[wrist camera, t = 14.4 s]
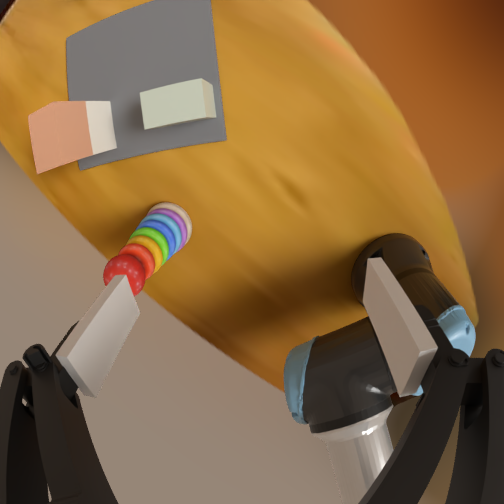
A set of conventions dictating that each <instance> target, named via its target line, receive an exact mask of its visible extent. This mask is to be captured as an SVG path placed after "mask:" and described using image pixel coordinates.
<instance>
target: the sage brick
mask: <svg viewBox="0 0 504 504" xmlns="http://www.w3.org/2000/svg"><path fill="white" fill-rule="evenodd" d="M140 99H141V107H142V115H143V122H144V129H145V130H146V129H153V128H161V127H167V126H172V125H177V124H182V123H187V122H193V121H199V120H205V119H211V118H216V110H215V102H214V93H213V85H212V84H210V83H209V82H207V81H205V80H204V79H202V78H200V79H195V80H190V81H185V82H180V83H176V84H171V85H167V86H163V87H159V88H155V89H151V90H148V91H144V92H141V93H140Z"/></svg>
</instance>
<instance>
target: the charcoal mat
mask: <svg viewBox="0 0 504 504" xmlns="http://www.w3.org/2000/svg"><path fill="white" fill-rule="evenodd" d="M66 52H67V79H68V93H69V101H110V104H111V112H112V120H113V127H114V133H115V140H116V146H117V148H116V149H112V150H108V151H105V152H102V153H98V154H95V155H92V156H88V157H85V158H82V159H79V160H78V163H79V168H80V171H81V170H84V169H87V168H91V167H94V166H98V165H102V164H105V163H109V162H113V161H117V160H121V159H125V158H130V157H134V156H138V155H143V154H147V153H152V152H157V151H162V150H167V149H173V148H178V147H184V146H190V145H196V144H203V143H209V142H217V141H224V140H227V138H226V130H225V122H224V114H223V105H222V97H221V89H220V80H219V71H218V63H217V54H216V45H215V36H214V27H213V18H212V9H211V0H154V1H151V2H148V3H145V4H142V5H139V6H136V7H133V8H131V9H128V10H125V11H123V12H120V13H118V14H115V15H113V16H110V17H108V18H106V19H104V20H101V21H99V22H97V23H95V24H93V25H91V26H89V27H87V28H85V29H83V30H81V31H79V32H77V33H75V34H73V35H71V36H69V37H68V38H67V40H66ZM200 78H202V79H204V80H205V81H207V82H209V83H210V84H212V85H213V93H214V102H215V110H216V118H211V119H205V120H199V121H193V122H187V123H182V124H177V125H172V126H167V127H161V128H153V129H146V130H145V129H144V122H143V115H142V107H141V99H140V93H141V92H144V91H148V90H151V89H155V88H159V87H163V86H167V85H171V84H176V83H180V82H185V81H190V80H195V79H200Z"/></svg>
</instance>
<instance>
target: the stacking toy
mask: <svg viewBox="0 0 504 504" xmlns="http://www.w3.org/2000/svg"><path fill="white" fill-rule="evenodd" d="M191 233H192V223H191V220H190V217H189V216H188V214H187V213H186V211H185V210H184V209H183V208H181V207H180V206H178V205H176V204H174V203H169V202H164V203H159V204H157V205H155V206H153V207H152V208H151V209H150V210H149V212H148V213H147V215H146V217H145V218H144V219H143V220H142V221H141V222H140V224H139V226H138V227H137V228H136V230H135V231H134V232H133V233H132V235H131V236H130V239H129V241H128V242H127V243H126V245H125V246H124V247H123V248H122V249H121V250H120V252H119V254H118V256H115V257H113V258H112V259H111V260H110V261H109V262H108V263H107V265H106V267H105V270H104V274H103V278H104V283H105V285H106V286H107V285H108V284H109V282H110V281H111V280H112V279H113V277H114V276H115V275H126V276H127V279H128V282H129V284H130V287H131V290H132V293H133V295H134V296H136V295H137V294H138V293H139V292H140V291H141V290H142V288H143V286H144V284H145V280H146V279H148V278H149V277H151V275H152V274H153V273H155V272H156V271H158V270H159V268H160V267H161V266H162V265H163V264H164V263H165V262H166V261H167V260H168V259H169V258H170V257H171V256H172V255H173V254H175V253H176V252H178V251H179V250H180V249H182V247H183V246H184V245H185V244H186V243H187V242H188V240H189V239H190V237H191Z"/></svg>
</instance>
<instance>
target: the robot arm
mask: <svg viewBox="0 0 504 504" xmlns="http://www.w3.org/2000/svg"><path fill="white" fill-rule="evenodd" d="M351 281H352V287H353V290H354V292H355V295H356V297H357V299H358V301H359V302H360V303H361V304H362V305H363V306H364V307H365V308H366V311H367V313H368V315H369V316H368V317H366V318H363V319H361V320H359V321H357V322H355V323H352V324H350V325H348V326H345V327H343V328H340V329H338V330H335V331H333V332H330V333H328V334H325V335H323V336H316V337H314V338H313V339H312V340H310V341H308V342H305V343H303V344H301V345H298V346H296V347H295V348H293V349H292V350H291V351H290V352H289V354H288V356H287V358H286V363H285V367H284V389H285V396H286V401H287V405H288V408H289V410H290V412H292V417H293V419H294V420H295V421H296V422H298V423H300V424H308V423H309V426H310V430H311V433H312V435H313V436H315V437H317V438H319V439H321V440H323V441H325V442H326V445H327V449H328V452H329V456H330V460H331V463H332V467H333V471H334V475H335V478H336V482H337V486H338V490H339V493H340V497H341V501H342V504H417V503H418V502H419V500H420V498H421V496H422V495H423V493H424V491H425V489H426V487H427V485H428V484H429V482H430V479H431V477H432V476H433V474H434V471H435V469H436V467H437V465H438V463H439V461H440V458H441V456H442V454H443V451H444V449H445V447H446V444H447V442H448V439H449V437H450V434H451V431H452V428H453V426H454V423H455V420H456V417H457V414H458V411H459V407H460V405H461V408H460V422H459V434H458V442H457V449H456V457H455V462H454V468H453V473H452V478H451V483H450V487H449V492H448V496H447V500H446V503H445V504H504V351H502V350H500V349H492V350H490V351H488V353H487V354H486V356H485V358H469V356H470V354H471V352H472V350H473V347H474V343H475V329H474V326H473V324H472V323H471V321H470V320H469V318H468V316H467V315H466V312H465V310H464V308H463V307H462V306H460V305H459V303H458V302H457V301H456V300H455V298H454V297H453V296H452V295H451V294H450V292H449V291H448V290H447V289H446V288H445V286H444V285H443V284H442V283H441V282H440V281H439V279H438V278H437V277H436V276H435V275H434V273H433V269H432V266H431V263H430V260H429V257H428V254H427V252H426V250H425V249H424V248H423V246H422V245H421V244H420V243H419V242H418V241H417V240H415V239H414V238H413V237H411V236H408V235H405V234H389V235H386V236H383V237H381V238H379V239H377V240H375V241H374V242H372V243H371V244H369V245H368V246H367V247H366V248H365V249H364V250H363V251H362V253H361V254H360V255H359V257H358V258H357V260H356V262H355V264H354V267H353V271H352V278H351ZM139 315H140V311H139V308H138V306H137V303H136V301H135V298H134V295H133V293H132V290H131V287H130V284H129V282H128V279H127V276H126V275H115V276H114V277H113V279H112V280H111V281H110V282H109V284H108V285H107V286H106V287H105V289H104V290H103V291H102V292H101V294H100V295H99V296H98V297H97V299H96V300H95V301H94V302H93V304H92V305H91V306H90V308H89V309H88V310H87V312H86V313H85V314H84V316H83V317H82V318H81V320H80V321H78V322H77V323H76V324H74V325H73V326H72V327H71V328H70V330H69V331H68V332H67V335H65V336H64V338H63V340H62V341H61V342H60V343H59V345H58V346H57V348H56V349H55V351H54V352H53V354H52V355H51V356H49V355H48V353H47V352H46V350H45V348H44V347H43V346H42V345H41V344H35V345H33V346H31V347H29V348H28V349H27V350H26V351H25V353H24V354H23V359H24V361H25V362H26V364H27V365H28V366H29V368H25V366H24V365H23V364H22V362H21V361H14V362H12V363H10V364H9V365H8V367H7V369H6V370H5V373H4V377H3V380H2V384H1V387H0V504H118V502H117V500H116V498H115V496H114V494H113V492H112V490H111V488H110V485H109V483H108V481H107V479H106V476H105V474H104V472H103V469H102V467H101V464H100V462H99V459H98V456H97V454H96V451H95V448H94V445H93V443H92V440H91V437H90V434H89V431H88V428H87V424H86V421H85V418H84V414H83V410H82V407H81V403H80V399H79V396H78V394H77V393H76V391H77V389H78V388H79V389H80V390H81V392H82V393H83V394H84V395H86V396H90V397H94V398H96V397H97V395H98V393H99V391H100V389H101V386H102V385H103V383H104V381H105V379H106V377H107V374H108V373H109V371H110V369H111V367H112V365H113V363H114V361H115V359H116V357H117V355H118V353H119V351H120V349H121V347H122V345H123V344H124V342H125V340H126V338H127V336H128V334H129V333H130V331H131V329H132V327H133V325H134V323H135V322H136V320H137V318H138V316H139ZM396 391H398V393H399V396H400V397H403V396H407V395H415V396H419V395H421V394H422V395H421V397H420V399H419V401H418V402H417V404H416V409H415V411H414V413H413V415H412V417H411V419H410V421H409V423H408V425H407V427H406V429H405V431H404V433H403V435H402V436H401V438H400V440H399V442H398V444H397V446H396V447H395V449H394V451H393V447H392V443H391V439H390V436H389V432H388V429H387V425H386V419H387V417H388V415H389V413H390V411H391V409H392V407H393V405H392V402H391V399H390V394H392V393H394V392H396ZM22 399H24V400H25V401H26V402H27V404H26V406H24V404H23V403H22ZM47 483H48V485H47ZM48 487H49V490H50V494H51V498H52V500H51V502H49V498H48Z"/></svg>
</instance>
